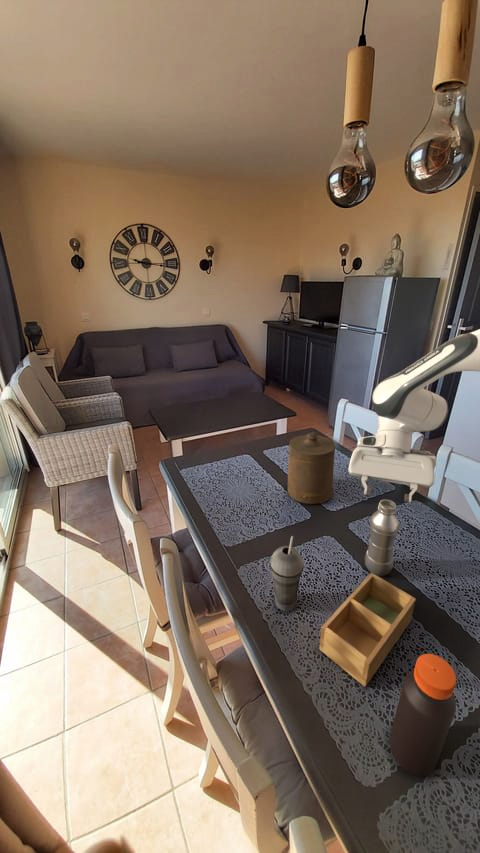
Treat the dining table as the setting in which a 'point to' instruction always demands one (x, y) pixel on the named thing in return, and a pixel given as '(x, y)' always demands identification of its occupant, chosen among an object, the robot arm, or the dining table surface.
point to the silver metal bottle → (382, 539)
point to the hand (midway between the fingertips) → (386, 498)
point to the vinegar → (423, 715)
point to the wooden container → (311, 468)
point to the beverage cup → (286, 575)
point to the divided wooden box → (366, 627)
